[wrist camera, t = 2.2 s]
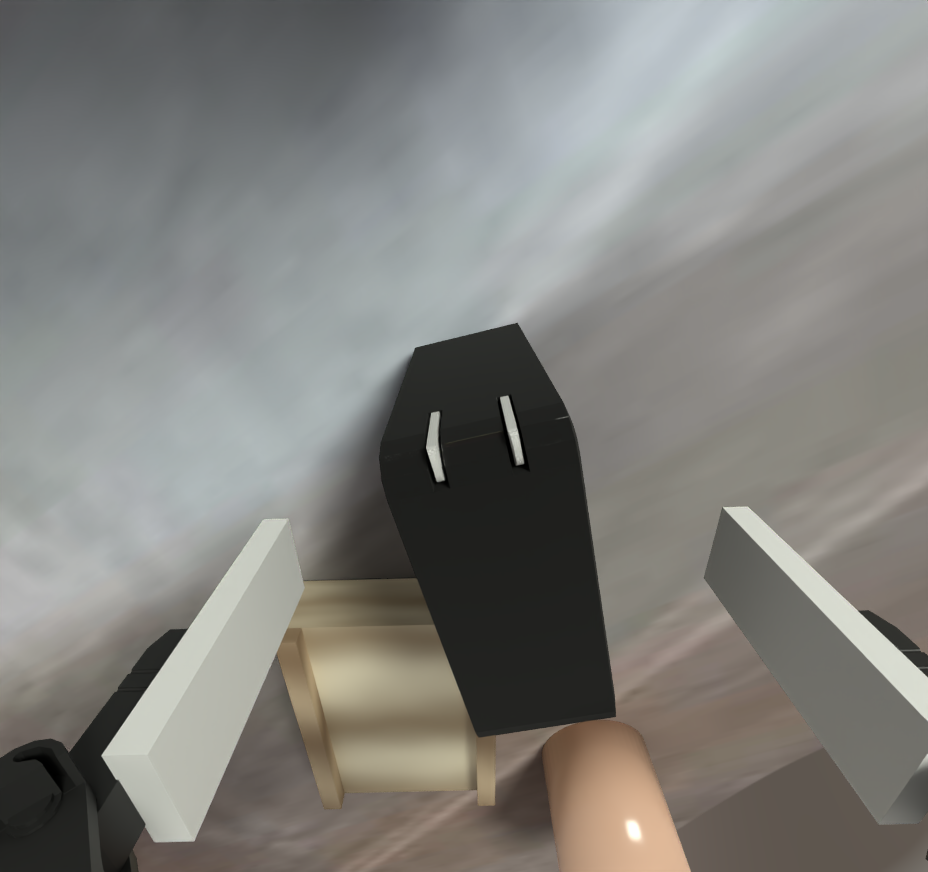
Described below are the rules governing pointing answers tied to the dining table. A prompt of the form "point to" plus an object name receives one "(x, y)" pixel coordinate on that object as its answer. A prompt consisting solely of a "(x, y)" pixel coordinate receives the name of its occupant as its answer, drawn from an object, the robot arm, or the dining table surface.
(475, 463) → the electronic device
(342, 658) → the stand
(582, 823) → the peach rounded cylinder
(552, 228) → the dining table surface
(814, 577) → the robot arm
